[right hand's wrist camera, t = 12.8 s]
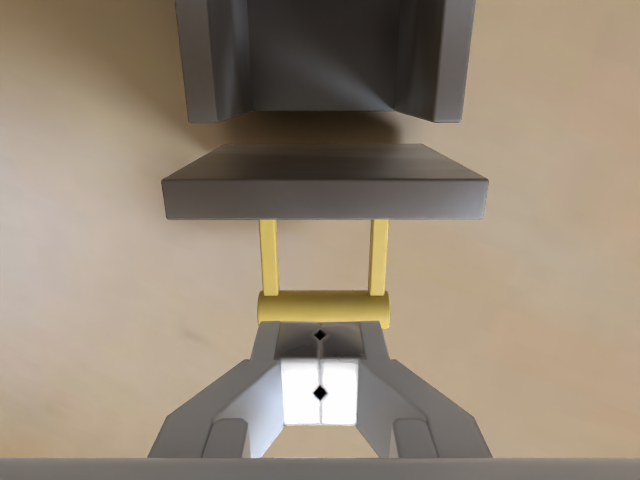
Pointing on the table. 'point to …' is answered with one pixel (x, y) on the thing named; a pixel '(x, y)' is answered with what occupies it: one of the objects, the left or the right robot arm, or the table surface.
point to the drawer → (324, 95)
